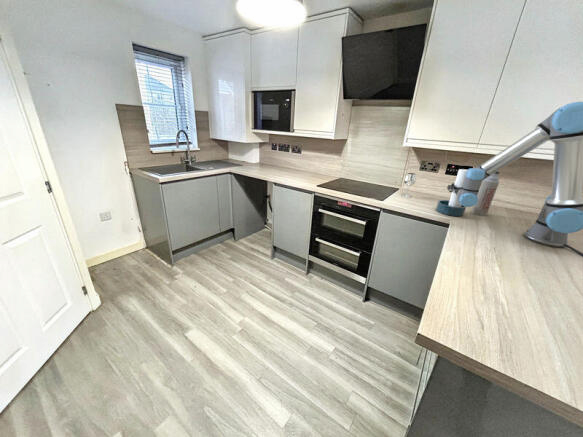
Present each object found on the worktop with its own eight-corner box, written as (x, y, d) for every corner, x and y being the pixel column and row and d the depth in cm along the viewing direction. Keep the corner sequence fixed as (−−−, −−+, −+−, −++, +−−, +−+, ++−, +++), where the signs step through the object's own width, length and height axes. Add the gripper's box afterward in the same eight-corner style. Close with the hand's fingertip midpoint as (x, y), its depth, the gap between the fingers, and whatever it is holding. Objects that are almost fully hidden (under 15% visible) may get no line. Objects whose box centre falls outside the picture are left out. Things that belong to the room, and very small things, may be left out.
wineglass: (402, 194, 194) (407, 172, 187) (413, 196, 189) (418, 173, 182) (399, 195, 188) (404, 173, 181) (410, 198, 183) (415, 175, 176)
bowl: (469, 217, 149) (472, 208, 146) (445, 216, 148) (448, 207, 146) (452, 208, 163) (455, 200, 161) (430, 208, 162) (433, 199, 160)
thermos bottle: (487, 216, 151) (504, 173, 140) (472, 214, 154) (488, 171, 143) (485, 213, 157) (501, 171, 147) (470, 210, 161) (485, 169, 150)
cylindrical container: (462, 210, 151) (475, 171, 142) (451, 210, 151) (463, 171, 142) (455, 206, 158) (467, 169, 148) (445, 206, 158) (456, 169, 148)
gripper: (442, 197, 140) (440, 189, 159) (483, 203, 131) (476, 194, 150) (446, 185, 137) (443, 178, 156) (488, 190, 129) (480, 182, 148)
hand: (459, 186), depth 153 cm, fingers closed on cylindrical container, 7 cm apart
